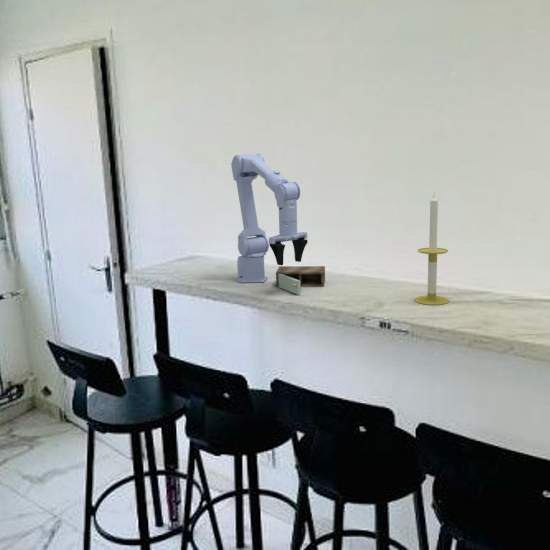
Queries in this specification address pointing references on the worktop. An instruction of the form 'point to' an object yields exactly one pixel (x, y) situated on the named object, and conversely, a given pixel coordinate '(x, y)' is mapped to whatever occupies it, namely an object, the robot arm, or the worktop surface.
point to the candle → (432, 259)
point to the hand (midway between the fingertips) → (289, 263)
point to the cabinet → (304, 275)
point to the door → (289, 284)
